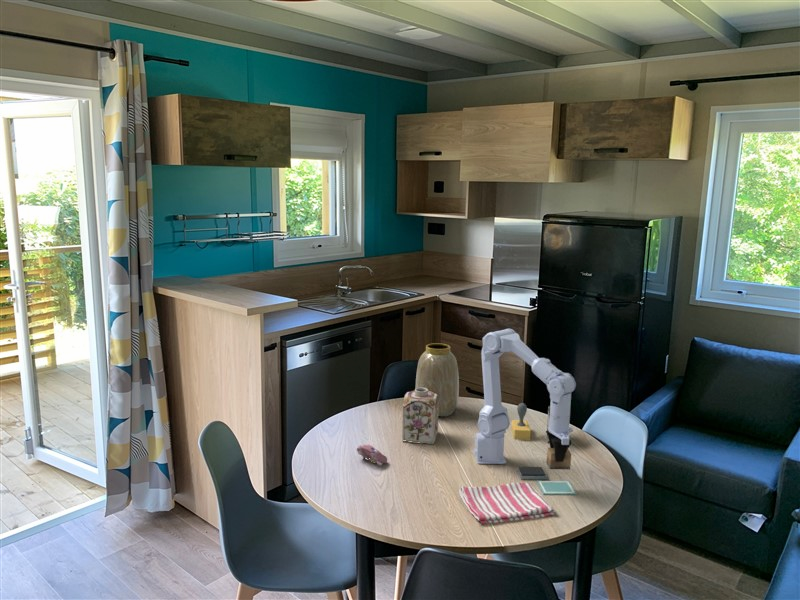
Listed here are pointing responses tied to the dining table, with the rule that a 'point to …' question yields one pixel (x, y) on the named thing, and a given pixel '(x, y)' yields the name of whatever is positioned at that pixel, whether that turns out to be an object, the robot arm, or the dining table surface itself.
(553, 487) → the marked card
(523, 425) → the rubber stamp
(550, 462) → the hand stamp
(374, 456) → the pink rounded piece
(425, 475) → the dining table surface
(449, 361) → the vase
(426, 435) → the decorative jar
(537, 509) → the dish towel
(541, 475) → the ink pad
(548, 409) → the food container
